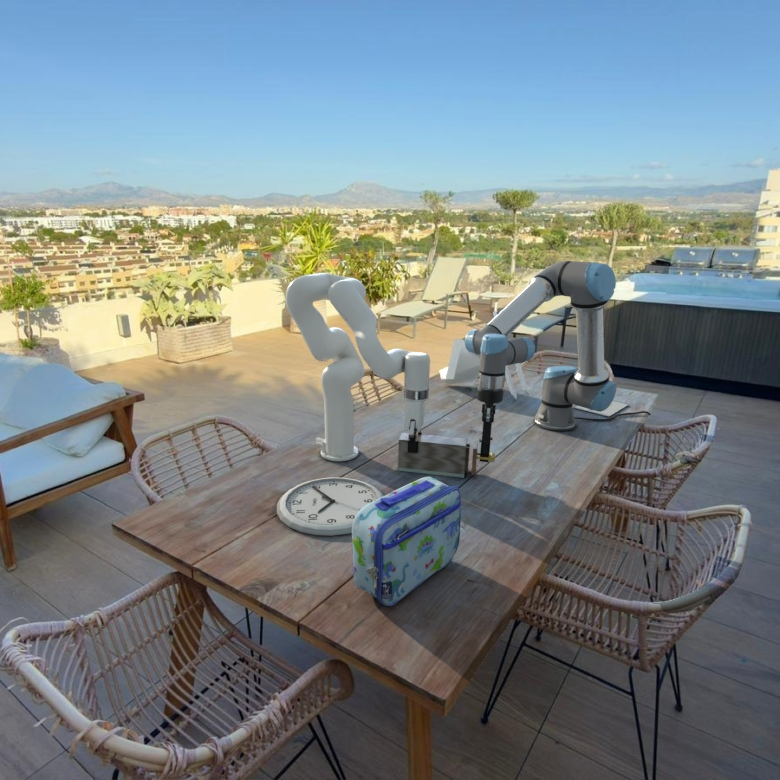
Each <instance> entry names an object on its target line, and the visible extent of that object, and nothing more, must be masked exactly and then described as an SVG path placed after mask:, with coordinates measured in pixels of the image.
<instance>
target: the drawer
mask: <svg viewBox="0 0 780 780" xmlns="http://www.w3.org/2000/svg"><path fill="white" fill-rule="evenodd" d="M470 447H471V443H469V442H467V445H466V456H465V471H464V473H465V474H468V473H469V464H470V463H469V462H470V449H471V448H470ZM478 448H479V443H478V442H473V448H472V461H471V476H476V473H477V460H480V459H484V460H489V462H490V463H494V462H495V461H496V453H495V452H494V451H492V452H491V451H490V452H489V458H488V457H480V452H478V450H479V449H478Z"/></svg>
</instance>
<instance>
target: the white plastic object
mask: <svg viewBox="0 0 780 780" xmlns="http://www.w3.org/2000/svg"><path fill="white" fill-rule="evenodd" d="M498 314H499V313H498V312H497V311H496V310H495V311H492V315H493V318H494V317H495V316H497V315H498ZM514 366H515V369H516V372H517V376H518V380H519V382H520V385H521V389H522V391H523V393H524V395H525V396H526V397H528V396H531V395H530V390H529V388H528V387H529V386H528V384H527V381H526V378H525V375H524V371H523V369H522V368H523V367H522V366H521V363H517V364H514ZM479 369H480V355H477V354H475V353H472V352H469V351H468V350H467V349H466V347H465V339H463V338H460V339H458V338H454V340H453V344H452V349H451V353H450V357H449V362H448V366H446V367H444V368H442V369H440V370H439V371H438V372H439V376H440V381H442V383H443V384H444V385H445V386H449V385H458V384H467V383H468V384H469V383H473V384H478V380H479V379H478V378H476V377H477V375H479ZM505 381H506V383H507V386H508V390H509V393H510V394H511V395H512V397H513V398H514V399H515V400H517V392H516V391H517V390H516V388H515V385H514V381H513V378H512V375H511V371H510V369H509V365H507V366H506V369H505Z"/></svg>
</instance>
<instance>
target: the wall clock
mask: <svg viewBox="0 0 780 780" xmlns="http://www.w3.org/2000/svg"><path fill="white" fill-rule="evenodd" d="M383 496H385V494H384V493H383V492H382V491H381V490H380V489H379V488H377V487H376V486H374V485H372V484H371V483H369V482H365V481H362V480H359V479H355V478H349V477H338V476H337V477H335V476H333V477H332V476H331V477H322V478H317V479H312V480H307V481H305V482H302V483H299V484H297V485H295V486H293V487H292V488H290V489H288V490H287V491H286V492H285V493H284V494H283V495H281V496H280V498H279V499H278V502H277V503H276V515H277V517H278V518H279V520H280V521H281V522H282V523H283V524H285V525H286V526H287V527H288V528H290V529H293V530H295V531H297V532H299V533H303V534H308V535H312V536H327V537H328V536H329V537H331V536H332V537H333V536H342V535H350V534H352V526H353V521H354V518H355V516H356V515H357V513H358V512H359V510H360V509H361V508H362V507H364V506H365V505H367V504H369V503H371V502H373V501H375V500H377V499H379V498H381V497H383Z"/></svg>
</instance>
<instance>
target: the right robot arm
mask: <svg viewBox="0 0 780 780" xmlns="http://www.w3.org/2000/svg"><path fill="white" fill-rule="evenodd" d="M616 279H617V278H616V274H615V271H614V269H613V268H612V267H611V266H610V265H609V264H606V263H601V262H598V261H597V262H595V261H593V262H592V261H591V262H590V261H576V260H575V261H574V260H561V261H558V262H555V263H553V264H551V265H549V266H547V267H546V268H544V269H542V270H541V271H539V272H538V273H537V274H536V275H534V276H533V277H532V278H531V279H530V280H529V282H528V286H527V287H526V288H524V290H522V291H521V292H520V293H519V294H518V295H517V296H516V297H515V298H514V299H513V300H512V301H510V302H509V303H508V304H507V305H506V306H505V307H504V308H503V309H501V311H500V312H498V313H497V314H498V315H497V316H495V317H494V316H493V318H492V319H491V320H490V321H489V322H488V323H486V324H485V326H483V327H482V328H481V329H478V328H477V329H471V330H469V331H468V332H467V333H466V335H465V338H464V342H465V347H466V349H467V350H468V351H469V352H472V353H475V354H477V355H480V369H479V375H477V377H476V378H478V379H479V380H478V382H477V386H478V387H477V391H476V393H477V394H476V399H477V400H478V401H479V402H481V403H482V405H481V421H482V432H481V435H482V436H481V439H480V438H479V440H478V441H479V443H480V452H479V453H480V455H479V457H488V458H489V454H490V453H491V451H490V450H491V441H493V440H494V438H493V437H492V436H491V435H492V423H493V422H494V421H495V414H496V407H497V405H495V404H499V403H502V402H503V400H504V391H505V390H504V389H503V388H505V381H506V377H505V369H506V366H507V365H508V366H511V365H515V364H517V363H520V364H523V363H525V362H529V361H530V360H532V359H533V357H535V353H536V346H535V343H534V341H533V340H532V339H531V338H529V337H526V336H519V337H512V336H510V335H511V334H512V333H513V332H514V331H516V329H518V327H520V325H522V324H523V323H524V322H525V321H526V320H527V319H528V318H529V317H530V316H531V315H532V314H533V313H534V312H536V310H538V308H540V307H541V306H542V305H543V304H544V303H546V302H547V303H548V302H550V301H552V300H553V298H555V297H560V296H563V297H569V298H570V306H571V307H572V308H573V309H575V320H576V321H575V322H576V345H577V346H576V347H577V366H578V367H576V366H571V365H570V366H569V365H555V366H554V365H553V366H550V367H547V368H546V369H545V371H544V375H543V378H542V379H543V381H542V382H543V383H542V394H541V402H540V405H539V407H538V410H537V411H536V413H535V416H534V424H535V425H536V426H537V427H539V428H542V429H544V430H549V431H556V432H567V431H572V430H574V429H575V428H576V420H583V421H592V422H593V421H594V422H606V421H612V420H614V419H616V418H617V417H621V416H629V415H639V414H648V416H652V414H651V413H650V412H649V411H646V410H640V411H634V412H624V413H619V414H616V415H614V416H612V417H608V418H589V417H580V416H579V417H577V416H575V413H574V407H573V405H574V406H581V407H584V408H588V409H590V410H595V411H599V412H601V411H604V410H606V409H607V408H608V407H609V406H610V404H611V403H612V401H614V400H615V399H614V398H615V396H616V394H617V393H616V392H617V384H616V383H615V382H614V381H613V380H610V373H609V371H608V370H607V369H606V368H605V337H604V336H605V335H604V334H605V333H604V331H605V330H604V329H605V328H604V307H605V306H607V304H608V303H609V300H610V299H612V297H613V296H614V293H615V289H616V285H617V280H616ZM479 462H482V463H489V462H490V461H489V460H484V459H479Z"/></svg>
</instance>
